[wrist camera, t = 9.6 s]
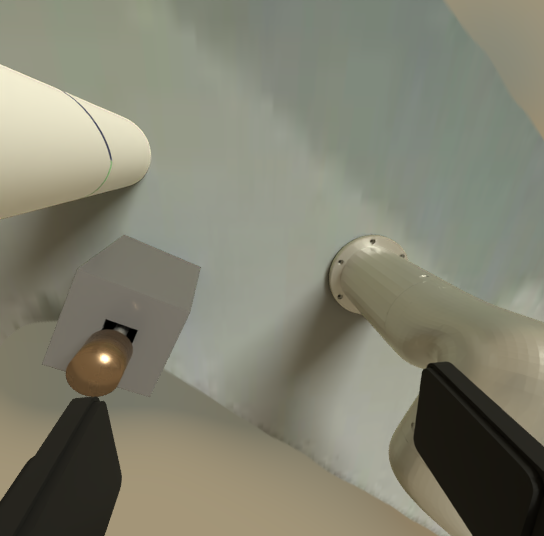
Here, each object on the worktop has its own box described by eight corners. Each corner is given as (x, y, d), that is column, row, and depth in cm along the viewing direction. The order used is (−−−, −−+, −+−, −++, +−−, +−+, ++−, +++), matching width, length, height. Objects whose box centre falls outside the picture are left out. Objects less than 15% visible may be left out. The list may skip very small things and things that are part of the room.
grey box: (200, 267, 47) (190, 311, 33) (171, 330, 49) (149, 397, 35) (124, 234, 44) (77, 268, 30) (96, 303, 47) (41, 364, 33)
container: (107, 98, 39) (-200, -66, 11) (165, 151, 42) (39, 132, 14) (63, 152, 40) (-320, 131, 12) (122, 201, 43) (-77, 278, 15)
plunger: (184, 275, 46) (156, 352, 27) (163, 321, 48) (123, 424, 29) (129, 252, 44) (58, 319, 25) (109, 301, 46) (29, 398, 27)
